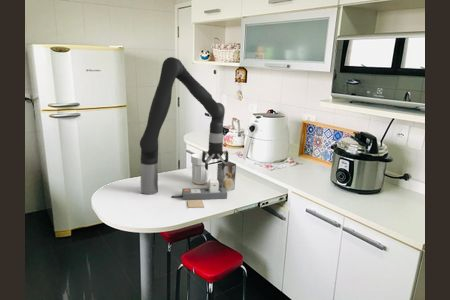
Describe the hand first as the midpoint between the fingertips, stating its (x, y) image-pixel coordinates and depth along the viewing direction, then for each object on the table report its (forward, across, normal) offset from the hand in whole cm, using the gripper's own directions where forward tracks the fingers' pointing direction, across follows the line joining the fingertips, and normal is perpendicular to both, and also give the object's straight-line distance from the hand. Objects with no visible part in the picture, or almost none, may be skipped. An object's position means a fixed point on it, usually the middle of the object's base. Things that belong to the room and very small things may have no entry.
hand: (214, 169), depth 177 cm
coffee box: (+16, +9, +9) cm, 21 cm away
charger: (+14, 0, 0) cm, 14 cm away
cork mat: (+16, -11, -10) cm, 22 cm away
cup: (+16, -5, +21) cm, 27 cm away
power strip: (+16, -8, 0) cm, 18 cm away
